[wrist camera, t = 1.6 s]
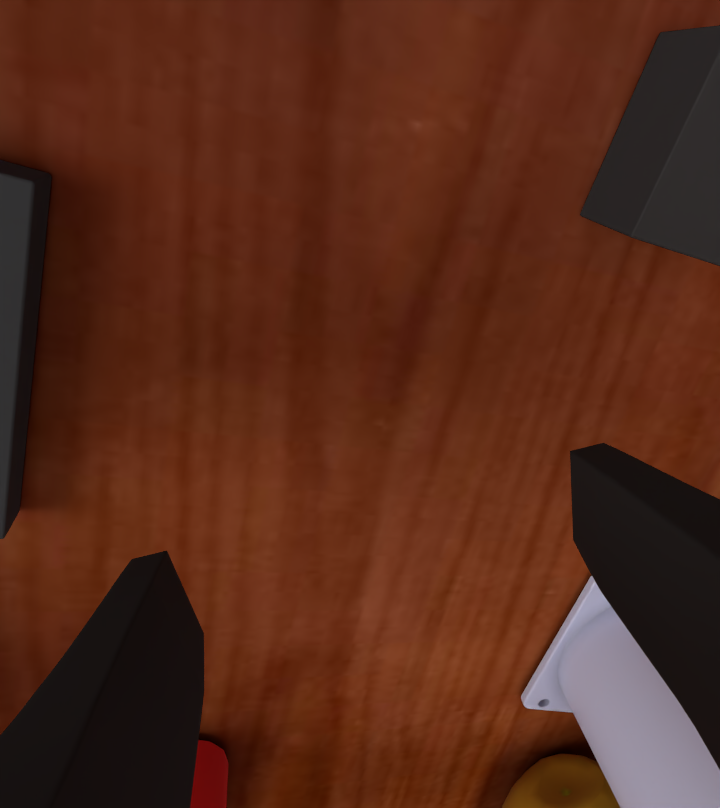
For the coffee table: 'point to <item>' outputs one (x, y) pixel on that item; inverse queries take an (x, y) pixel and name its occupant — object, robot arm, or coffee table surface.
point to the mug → (210, 777)
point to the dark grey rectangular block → (668, 151)
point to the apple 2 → (562, 785)
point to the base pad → (18, 317)
